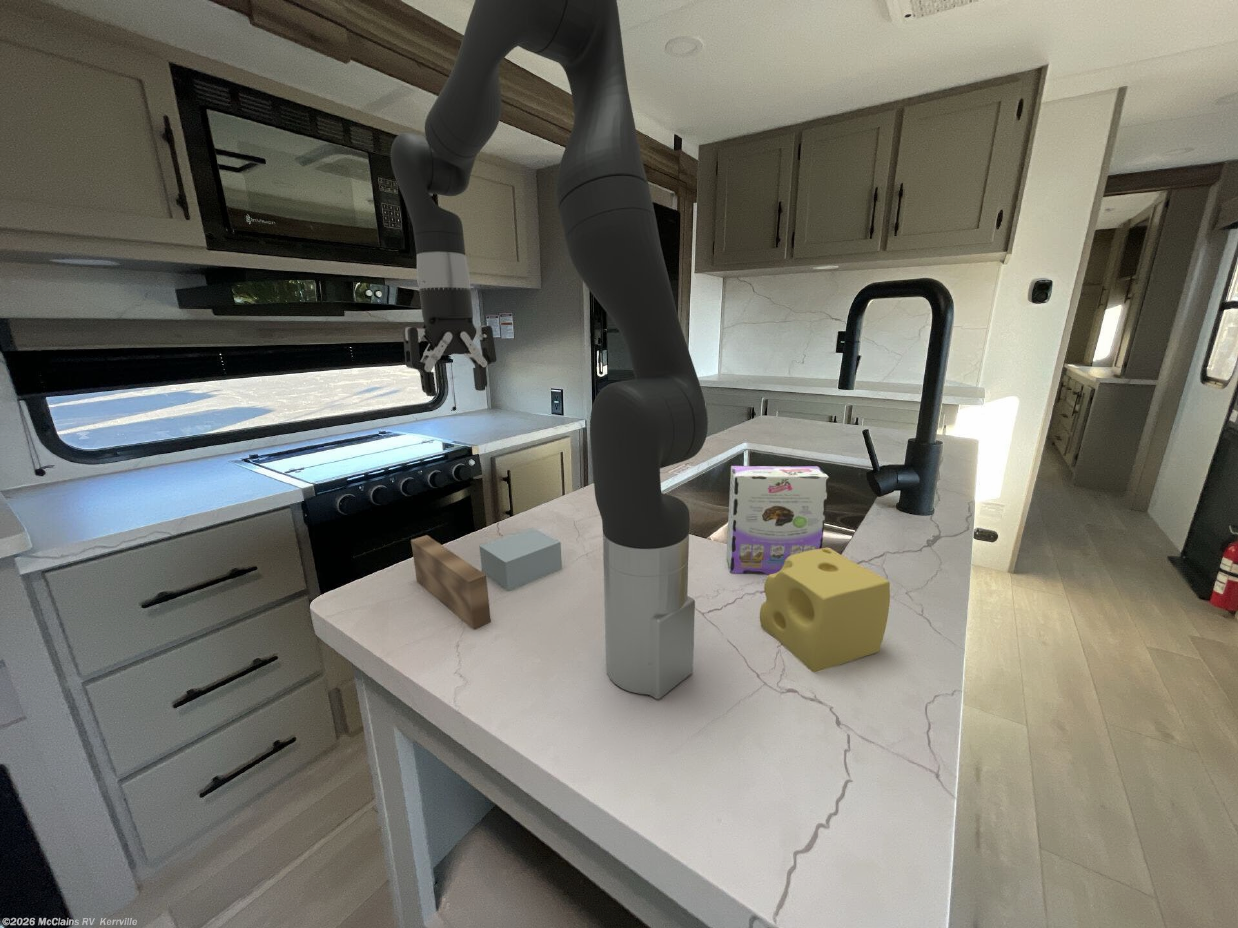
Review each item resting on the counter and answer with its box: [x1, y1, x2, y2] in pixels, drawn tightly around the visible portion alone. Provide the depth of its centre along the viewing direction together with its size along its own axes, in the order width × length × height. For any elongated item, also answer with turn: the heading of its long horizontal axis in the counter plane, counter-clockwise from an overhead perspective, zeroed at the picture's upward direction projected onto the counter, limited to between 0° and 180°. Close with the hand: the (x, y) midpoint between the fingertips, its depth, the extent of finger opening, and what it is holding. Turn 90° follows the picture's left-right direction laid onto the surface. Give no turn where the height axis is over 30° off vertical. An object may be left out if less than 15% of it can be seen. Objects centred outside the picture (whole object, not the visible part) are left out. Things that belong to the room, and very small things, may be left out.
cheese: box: [759, 547, 891, 673], centre depth 61 cm, size 10×11×10 cm
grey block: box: [479, 527, 563, 592], centre depth 80 cm, size 8×10×5 cm
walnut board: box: [410, 534, 492, 630], centre depth 71 cm, size 18×2×7 cm, turn 44°
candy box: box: [726, 465, 830, 575], centre depth 78 cm, size 14×6×16 cm, turn 84°
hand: (456, 393), depth 80 cm, fingers open, 8 cm apart
